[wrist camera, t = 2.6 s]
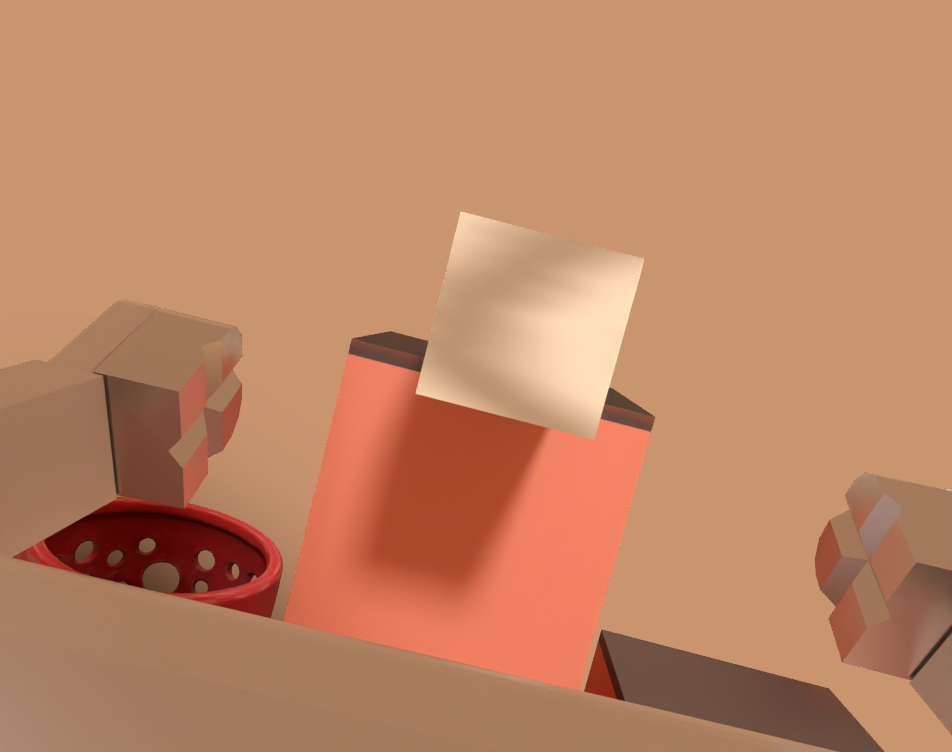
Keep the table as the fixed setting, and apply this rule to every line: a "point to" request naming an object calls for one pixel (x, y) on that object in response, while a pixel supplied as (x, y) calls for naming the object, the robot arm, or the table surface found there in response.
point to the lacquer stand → (507, 551)
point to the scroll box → (528, 325)
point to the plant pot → (171, 551)
